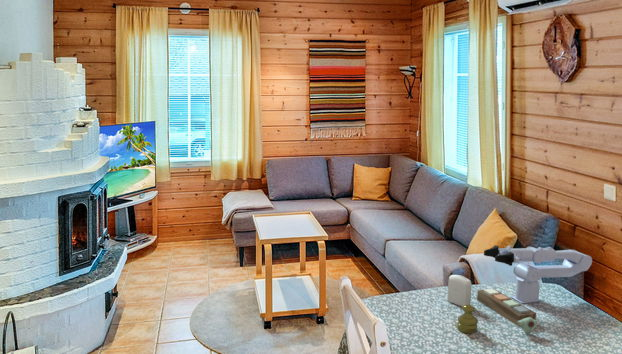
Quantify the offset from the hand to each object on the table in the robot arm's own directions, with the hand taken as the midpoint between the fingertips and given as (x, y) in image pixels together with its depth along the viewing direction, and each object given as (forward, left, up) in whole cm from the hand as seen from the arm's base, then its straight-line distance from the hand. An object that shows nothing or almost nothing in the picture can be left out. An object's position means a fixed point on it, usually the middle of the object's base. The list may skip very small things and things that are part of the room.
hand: (489, 255), depth 244 cm
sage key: (-3, +12, -18) cm, 22 cm away
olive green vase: (+22, +19, -22) cm, 36 cm away
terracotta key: (-3, +5, -18) cm, 19 cm away
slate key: (-3, +18, -18) cm, 26 cm away
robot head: (+2, +29, -22) cm, 36 cm away
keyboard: (-3, +8, -22) cm, 23 cm away
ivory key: (-3, -1, -18) cm, 19 cm away
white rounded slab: (+11, -4, -22) cm, 25 cm away
